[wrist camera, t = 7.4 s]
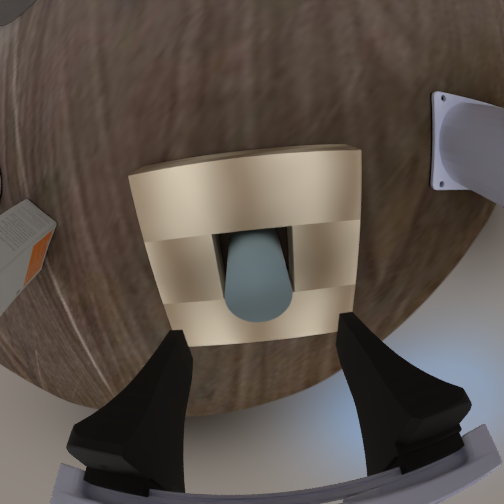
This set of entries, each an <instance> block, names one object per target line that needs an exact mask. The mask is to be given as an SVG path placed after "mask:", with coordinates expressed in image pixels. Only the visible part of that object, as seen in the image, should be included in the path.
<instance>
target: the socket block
mask: <svg viewBox="0 0 504 504" xmlns="http://www.w3.org/2000/svg"><path fill="white" fill-rule="evenodd" d="M128 177H129V182H130V186H131V191H132V195H133V200H134V204H135V208H136V212H137V216H138V220H139V224H140V228H141V232H142V235H143V239H144V243H145V246H146V250H147V253H148V257H149V260H150V264H151V267H152V270H153V274H154V277H155V280H156V283H157V286H158V289H159V292H160V296H161V299H162V302H163V305H164V307H165V310H166V313H167V316H168V319H169V322H170V325H171V327H172V330H183V332H184V335H185V338H186V341H187V344H188V346H208V345H224V344H237V343H249V342H259V341H269V340H278V339H287V338H295V337H303V336H310V335H317V334H324V333H331V332H337V330H338V321H339V314H340V313H347V312H352V309H353V301H354V292H355V283H356V273H357V262H358V250H359V235H360V216H361V150H360V149H357V148H355V147H352V146H349V145H347V144H324V145H303V146H288V147H275V148H263V149H253V150H244V151H235V152H227V153H219V154H212V155H205V156H198V157H192V158H185V159H179V160H174V161H168V162H163V163H157V164H152V165H147V166H143V167H141V168H140V169H138V170H137V171H135V172H133V173H132V174H130V175H129V176H128ZM285 226H287V241H288V260H289V270H287V272H288V276H289V280H290V284H291V288H292V300H291V303H290V305H289V307H288V308H287V310H286V311H285V312H284V313H283V314H281V315H280V316H278V317H277V318H275V319H273V320H270V321H266V322H249V321H245V320H242V319H240V318H238V317H236V316H235V315H234V314H233V313H232V312H231V311H230V310H229V309H228V307H227V305H226V303H225V283H226V276H225V270H224V264H223V259H222V253H221V247H220V241H219V235H218V234H219V233H228V232H237V231H247V230H256V229H265V228H275V227H285Z"/></svg>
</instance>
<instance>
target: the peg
mask: <svg viewBox="0 0 504 504" xmlns="http://www.w3.org/2000/svg"><path fill="white" fill-rule="evenodd" d="M291 300H292V288H291V284H290V280H289V276H288V272H287V268H286V264H285V260H284V256H283V253H282V249H281V245H280V241H279V237H278V234H277V231H276V229H275V228H265V229H256V230H247V231H237V232H231V233H230V238H229V249H228V260H227V271H226V283H225V303H226V305H227V307H228V309H229V310H230V311H231V312H232V313H233V314H234V315H235V316H236V317H238V318H240V319H242V320H245V321H249V322H266V321H270V320H273V319H275V318H277V317H278V316H280V315H281V314H283V313H284V312H285V311H286V310H287V308H288V307H289V305H290V303H291Z"/></svg>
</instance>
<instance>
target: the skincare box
mask: <svg viewBox="0 0 504 504" xmlns="http://www.w3.org/2000/svg"><path fill="white" fill-rule="evenodd" d="M56 225H57V223H56V222H55V221H54V220H53V219H51V218H50V217H49V216H48V215H46V214H45V213H44V212H43V211H41V210H40V209H39V208H38V207H37V206H35V205H34V204H33V203H32V202H31V201H30V200H28V199H25V200H24V201H22V202H20V203H19V204H17V205H15V206H14V207H12V208H10V209H9V210H7V211H6V212H4V213H3V214H1V215H0V316H1V315H2V313H3V312H4V311H5V310H6V309H7V307H8V306H9V305H10V304H11V303H12V302H13V300H14V299H15V298H16V297H17V296H18V295H19V293H20V292H21V291H22V290H23V289H24V288H25V287H26V285H27V284H28V283H29V282H30V281H31V280H32V279H33V278H34V277H35V276H36V275H37V274H38V273H39V272H40V270H41V269H42V266H43V262H44V259H45V256H46V252H47V249H48V246H49V243H50V241H51V238H52V236H53V233H54V230H55V228H56Z"/></svg>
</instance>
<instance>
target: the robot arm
mask: <svg viewBox="0 0 504 504" xmlns="http://www.w3.org/2000/svg"><path fill="white" fill-rule="evenodd" d="M441 96H442V97H443V101H442V100H441ZM432 123H433V141H432V169H431V187H432V188H433V189H435V190H472V191H474V192H476V193H478V194H480V195H482V196H483V197H485V198H487V199H489V200H491V201H493V202H494V203H496V204H498V205H500V206H501V207H503V208H504V108H502V107H498V106H495V105H491V104H488V103H484V102H481V101H477V100H473V99H470V98H466V97H462V96H457V95H453V94H448V93H443V92H438V91H435V92H433V93H432ZM440 182H442V183H441V185H440ZM336 347H337V352H338V356H339V360H340V364H341V367H342V369H343V372H344V375H345V377H346V380H347V383H348V385H349V388H350V391H351V394H352V396H353V399H354V402H355V405H356V409H357V413H358V418H359V423H360V428H361V433H362V438H363V444H364V450H365V458H366V467H367V477H364V478H360V479H356V480H352V481H348V482H343V483H339V484H334V485H329V486H323V487H318V488H312V489H305V490H298V491H290V492H281V493H270V494H252V495H206V494H205V495H204V494H189V493H185V485H184V470H183V469H184V468H183V438H184V421H185V414H186V408H187V403H188V397H189V392H190V386H191V380H192V369H193V358H192V355H191V352H190V349H189V347H188V344H187V341H186V338H185V335H184V332H183V330H170V331H169V332H168V334H167V335H166V337H165V338H164V340H163V341H162V343H161V344H160V345H159V347H158V348H157V350H156V351H155V353H154V354H153V355H152V357H151V358H150V359H149V361H148V362H147V363H146V365H145V366H144V367H143V368H142V370H141V371H140V372H139V373H138V374H137V376H136V377H135V378H134V379H133V380H132V381H131V382H130V383H129V384H128V386H127V387H126V388H125V389H124V390H123V391H121V392H120V393H119V394H118V395H117V396H116V397H115V398H113V399H112V400H111V401H110V402H109V403H108V404H106V405H105V406H104V407H102V408H101V409H99V410H98V411H97V412H95V413H94V414H92V415H91V416H89V417H87V418H85V419H84V420H82V421H80V422H78V423H77V424H75V425H74V426H73V429H72V431H71V434H70V437H69V441H68V443H67V447H66V448H67V450H68V452H69V453H70V454H71V455H73V456H74V457H75V458H76V459H78V460H79V461H80V462H81V463H83V464H84V465H85V466H87V467H86V471H83V470H81V469H79V468H75V467H72V466H69V465H66V464H63V463H61V464H60V467H59V471H58V475H57V478H56V482H55V485H54V489H53V493H52V497H51V501H50V504H320V503H326V502H331V501H336V500H341V499H344V500H343V503H340V504H438V503H440V502H442V501H444V500H446V499H448V498H450V497H451V496H453V495H455V494H457V493H459V492H461V491H463V490H464V489H466V488H468V487H470V486H471V485H473V484H475V483H476V482H478V481H479V480H481V479H482V478H484V477H485V476H487V475H488V474H489V473H491V472H492V471H493V470H495V469H496V468H497V467H499V466H500V465H502V460H501V458H500V455H499V453H498V451H497V448H496V446H495V444H494V442H493V440H492V437H491V436H490V433H489V431H488V429H487V427H486V425H485V424H483V425H481V426H479V427H477V428H475V429H474V430H472V431H470V432H468V433H466V434H465V435H463V436H462V437H461V436H460V433H459V432H460V431H461V427H460V424H459V423H460V422H461V421H462V420H463V418H464V417H465V416H466V415H467V413H468V412H469V411H470V409H471V406H472V404H471V401H470V400H469V398H468V396H467V394H466V392H465V391H464V389H463V388H461V387H458V386H455V385H452V384H450V383H447V382H444V381H442V380H440V379H438V378H436V377H433V376H431V375H429V374H427V373H425V372H424V371H422V370H420V369H419V368H417V367H415V366H414V365H412V364H410V363H409V362H407V361H406V360H404V359H403V358H402V357H400V356H399V355H397V354H396V353H395V352H394V351H393V350H391V349H390V348H389V347H388V346H387V345H386V344H384V343H383V342H382V341H381V340H380V339H379V338H378V337H377V336H376V335H375V334H374V333H373V332H371V331H370V330H369V329H368V328H367V327H366V326H365V325H364V323H363V322H362V321H361V320H360V319H359V318H358V317H357V316H356V315H355V314H354V313H353V312H347V313H340V314H339V321H338V330H337V339H336Z"/></svg>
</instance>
